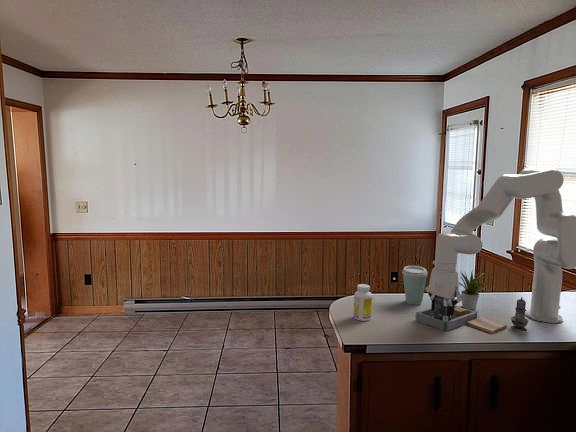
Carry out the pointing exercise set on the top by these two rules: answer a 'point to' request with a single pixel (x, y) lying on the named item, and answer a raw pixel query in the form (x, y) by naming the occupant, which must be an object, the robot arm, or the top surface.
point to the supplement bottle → (362, 303)
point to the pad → (486, 325)
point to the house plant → (470, 291)
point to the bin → (451, 324)
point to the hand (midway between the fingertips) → (442, 312)
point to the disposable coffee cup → (414, 283)
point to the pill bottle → (441, 309)
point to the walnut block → (458, 312)
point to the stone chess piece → (519, 316)
